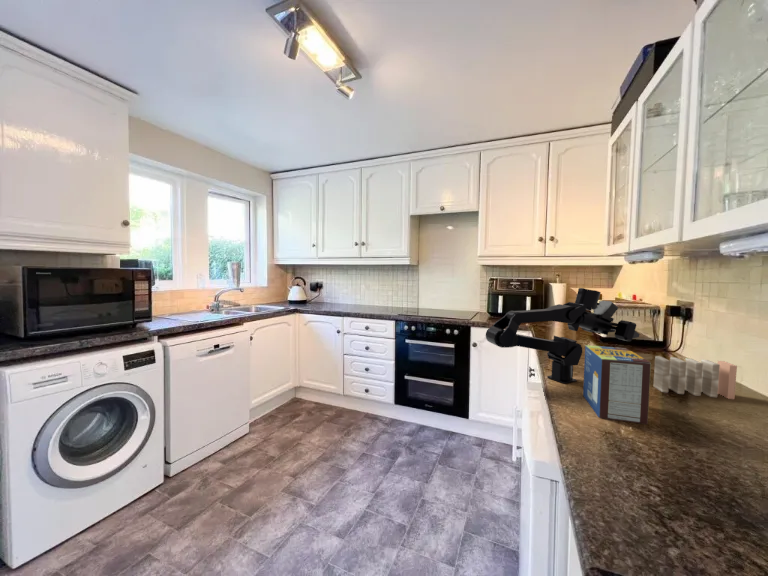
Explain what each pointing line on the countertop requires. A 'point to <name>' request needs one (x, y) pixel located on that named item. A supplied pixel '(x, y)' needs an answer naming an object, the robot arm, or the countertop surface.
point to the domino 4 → (710, 378)
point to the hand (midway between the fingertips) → (626, 332)
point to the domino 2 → (677, 375)
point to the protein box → (617, 383)
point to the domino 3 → (693, 376)
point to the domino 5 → (727, 379)
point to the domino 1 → (661, 374)
